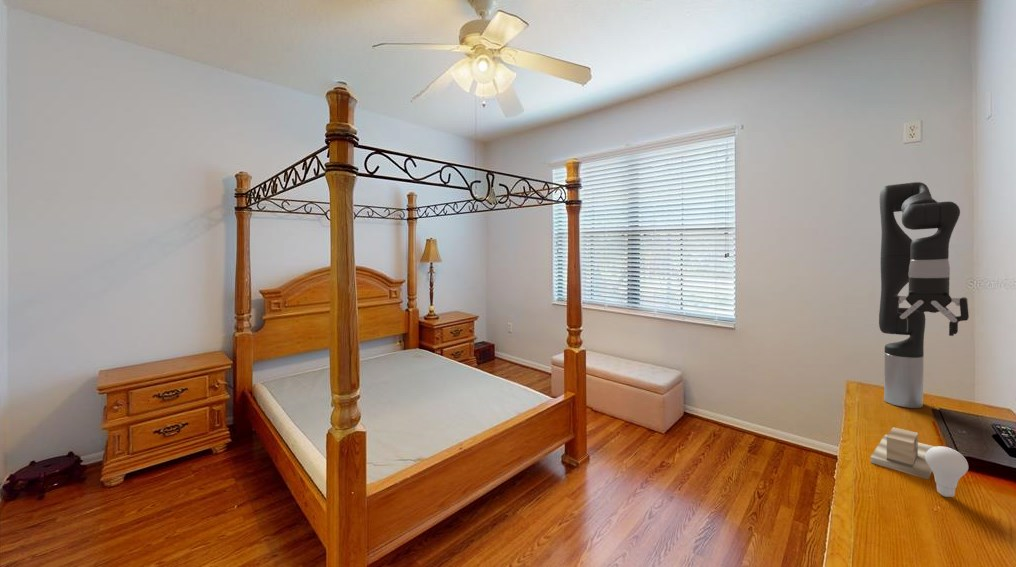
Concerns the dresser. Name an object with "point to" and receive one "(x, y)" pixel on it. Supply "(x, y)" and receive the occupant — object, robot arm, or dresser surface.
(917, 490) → the dresser surface
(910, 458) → the block
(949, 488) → the lightbulb
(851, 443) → the dresser surface
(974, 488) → the dresser surface
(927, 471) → the board
